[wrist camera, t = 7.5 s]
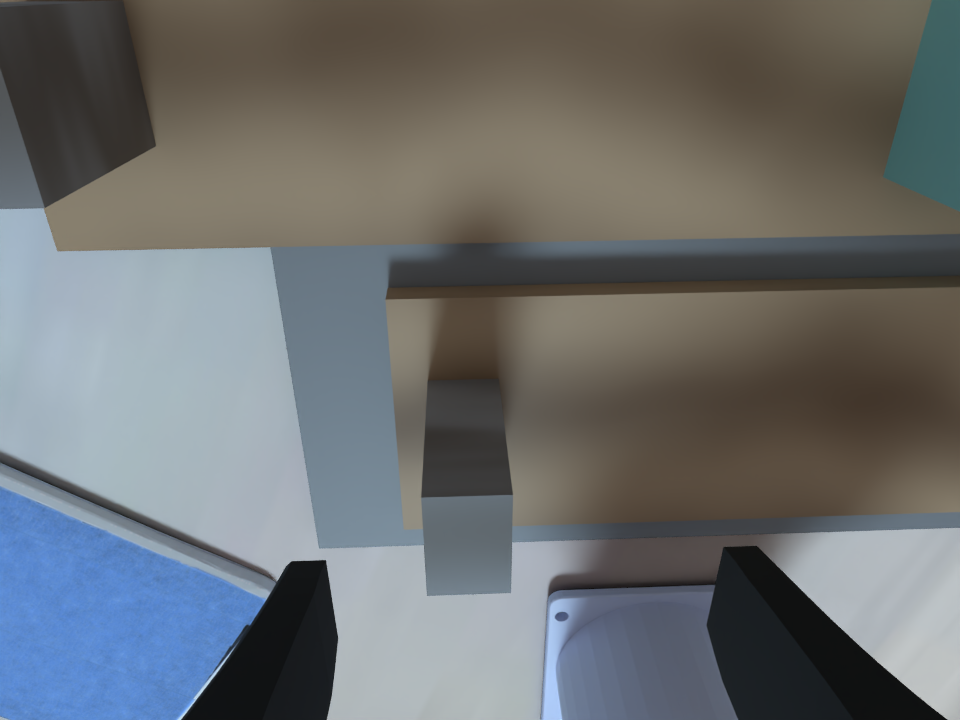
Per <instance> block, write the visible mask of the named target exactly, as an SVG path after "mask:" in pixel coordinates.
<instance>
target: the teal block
mask: <svg viewBox="0 0 960 720" xmlns="http://www.w3.org/2000/svg"><path fill="white" fill-rule="evenodd" d="M883 177H884V178H886V179H888V180H890V181H892V182H895V183H897V184H899V185H901V186H904V187H906V188H908V189H910V190H913V191H915V192H917V193H919V194H921V195H924V196H926V197H928V198H930V199H933V200H935V201H937V202H939V203H942V204H944V205H946V206H948V207H950V208H953V209H955V210H957V211H959V212H960V0H932V2H931V5H930V9H929V13H928V16H927V20H926V23H925V27H924V31H923V34H922V38H921V42H920V45H919V49H918V52H917V56H916V60H915V63H914V67H913V70H912V74H911V78H910V81H909V85H908V89H907V92H906V96H905V99H904V103H903V107H902V110H901V114H900V118H899V121H898V125H897V128H896V132H895V136H894V139H893V143H892V147H891V150H890V154H889V157H888V161H887V165H886V168H885V172H884V176H883Z"/></svg>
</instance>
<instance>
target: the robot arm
mask: <svg viewBox="0 0 960 720" xmlns="http://www.w3.org/2000/svg"><path fill="white" fill-rule="evenodd" d="M558 612H563V613H558ZM337 644H338V635H337V628H336V622H335V616H334V609H333V603H332V597H331V590H330V584H329V577H328V571H327V565H326V560H319V561H292V562H290V563H289V564H288V565H287V566H286V568H285V569H284V571H283V573H282V574H281V576H280V578H279V580H278V581H277V583H276V585H275V586H274V588H273V590H272V591H271V593H270V595H269V596H268V598H267V600H266V601H265V603H264V604H263V606H262V608H261V609H260V611H259V612H258V614H257V615H256V617H255V618H254V620H253V621H252V623H251V625H250V626H249V628H248V629H247V631H246V632H245V633H244V635H243V636H242V638H241V639H240V641H239V642H238V644H237V645H236V646H235V648H234V649H233V651H232V652H231V654H230V655H229V657H228V658H227V659H226V661H225V662H224V664H223V665H222V667H221V668H220V669H219V671H218V672H217V673H216V675H215V676H214V677H213V679H212V680H211V681H210V683H209V684H208V685H207V687H206V688H205V689H204V690H203V692H202V693H201V694H200V696H199V697H198V698H197V700H196V701H195V702H194V704H193V705H192V706H191V707H190V709H189V710H188V711H187V713H186V714H185V715H184V716H183V718H182V719H181V720H327V716H328V711H329V706H330V701H331V697H332V689H333V680H334V672H335V663H336V653H337ZM541 720H947V719H946V718H944V717H943V716H942V715H940V714H939V713H938V712H937V711H935V710H934V709H933V708H931V707H930V706H929V705H928V704H927V703H925V702H924V701H923V700H922V699H920V698H919V697H918V696H917V695H915V694H914V693H913V692H912V691H911V690H909V689H908V688H907V687H906V686H905V685H904V684H902V683H901V682H900V681H899V680H898V679H897V678H895V677H894V676H893V675H892V674H891V673H890V672H888V671H887V670H886V669H885V668H884V667H883V666H881V665H880V664H879V663H878V662H877V661H876V660H875V659H873V658H872V657H871V656H870V655H869V654H868V653H867V652H866V651H865V650H863V649H862V648H861V647H860V646H859V645H858V644H857V643H856V642H855V641H854V640H853V639H852V638H850V637H849V636H848V635H847V634H846V633H845V632H844V631H843V630H842V629H841V628H840V627H839V626H838V625H837V624H836V623H834V622H833V621H832V620H831V619H830V618H829V617H828V616H827V615H826V614H825V613H824V612H823V611H822V610H821V609H820V608H819V607H818V606H817V605H816V604H815V603H814V602H813V601H812V600H811V599H810V598H809V597H808V596H807V595H806V594H805V593H804V592H803V591H802V590H801V589H800V588H799V587H798V586H797V585H796V584H795V583H794V582H793V581H792V580H791V579H790V578H789V577H788V576H787V575H786V574H785V573H784V572H783V571H782V570H781V569H780V568H779V567H777V566H776V565H775V564H774V563H773V562H772V561H771V560H770V559H769V558H768V557H767V556H766V555H765V554H764V553H763V552H762V551H761V550H760V549H759V548H758V547H757V546H742V547H724V548H723V552H722V557H721V561H720V566H719V570H718V575H717V579H716V584H715V585H697V586H669V587H640V588H611V589H582V590H560V591H556V592H554V593H552V594H551V595H550V596H549V598H548V606H547V623H546V640H545V657H544V674H543V691H542V708H541Z"/></svg>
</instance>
